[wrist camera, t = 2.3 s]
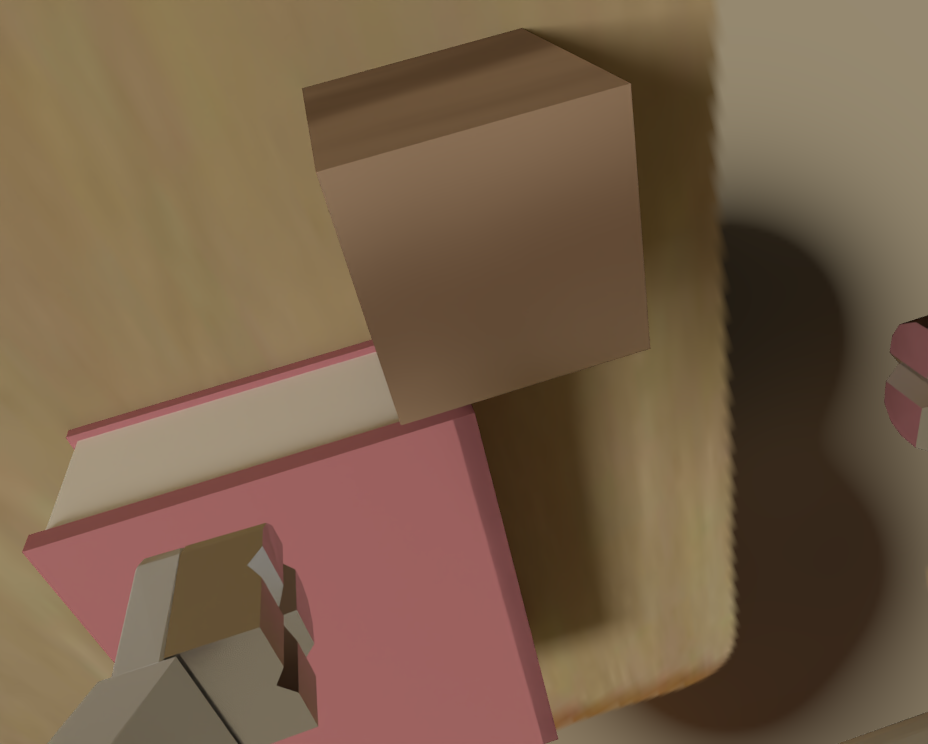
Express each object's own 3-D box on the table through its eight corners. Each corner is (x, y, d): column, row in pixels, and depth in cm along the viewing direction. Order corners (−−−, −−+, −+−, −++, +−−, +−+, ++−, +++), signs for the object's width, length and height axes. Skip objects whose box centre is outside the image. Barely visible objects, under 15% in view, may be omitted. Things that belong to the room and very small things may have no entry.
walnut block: (302, 88, 16) (315, 172, 11) (521, 27, 16) (631, 83, 11) (366, 287, 19) (401, 425, 14) (552, 232, 19) (650, 348, 14)
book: (70, 426, 19) (22, 552, 15) (436, 316, 20) (474, 412, 16) (263, 711, 27) (262, 839, 23) (519, 627, 28) (558, 739, 24)
